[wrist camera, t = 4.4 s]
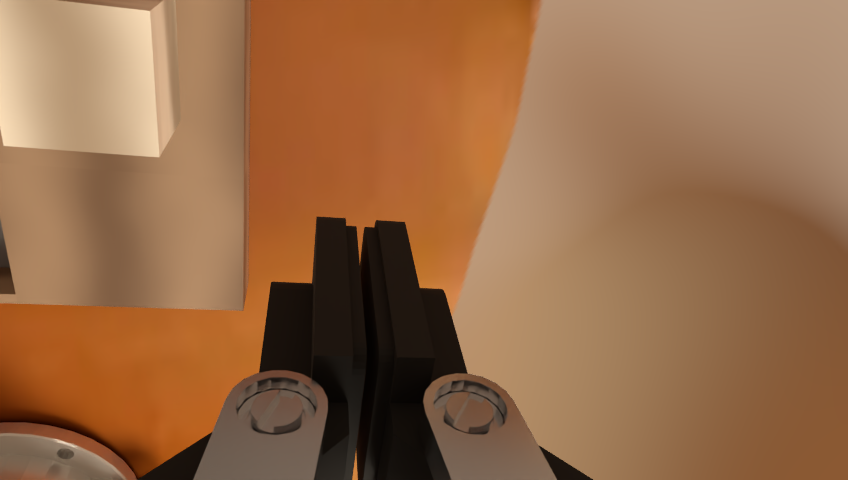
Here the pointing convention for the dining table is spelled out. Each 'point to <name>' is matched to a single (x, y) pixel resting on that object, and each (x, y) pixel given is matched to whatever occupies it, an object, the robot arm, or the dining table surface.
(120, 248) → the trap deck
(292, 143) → the dining table surface
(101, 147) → the maple block
